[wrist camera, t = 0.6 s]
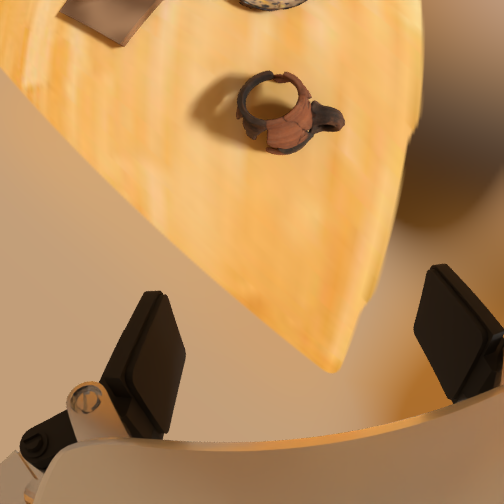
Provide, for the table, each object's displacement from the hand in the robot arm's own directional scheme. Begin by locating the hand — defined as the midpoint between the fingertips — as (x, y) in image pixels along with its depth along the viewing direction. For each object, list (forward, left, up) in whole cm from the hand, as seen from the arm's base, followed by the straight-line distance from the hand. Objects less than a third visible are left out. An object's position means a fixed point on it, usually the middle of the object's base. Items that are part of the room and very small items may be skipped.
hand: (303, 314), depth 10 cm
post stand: (-8, -32, -29) cm, 45 cm away
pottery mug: (-6, -2, -30) cm, 30 cm away
